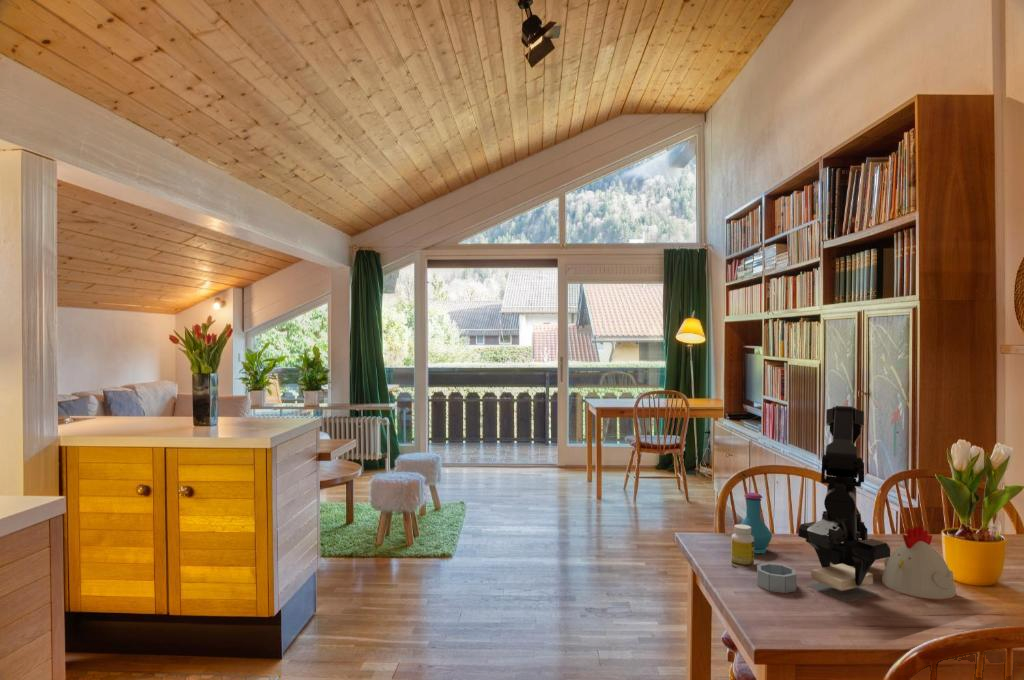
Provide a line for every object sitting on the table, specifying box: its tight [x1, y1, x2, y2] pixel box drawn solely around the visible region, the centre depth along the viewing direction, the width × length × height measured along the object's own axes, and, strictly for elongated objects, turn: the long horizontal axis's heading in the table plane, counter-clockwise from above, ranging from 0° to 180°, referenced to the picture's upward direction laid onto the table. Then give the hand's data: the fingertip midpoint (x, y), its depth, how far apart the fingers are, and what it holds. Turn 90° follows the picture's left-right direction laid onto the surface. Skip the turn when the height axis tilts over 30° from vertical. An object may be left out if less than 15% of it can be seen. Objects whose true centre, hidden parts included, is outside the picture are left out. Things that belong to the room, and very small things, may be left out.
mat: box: [806, 582, 879, 603], centre depth 139 cm, size 10×10×2 cm
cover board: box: [810, 563, 874, 591], centre depth 139 cm, size 10×8×2 cm
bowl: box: [756, 562, 797, 594], centre depth 142 cm, size 8×8×5 cm
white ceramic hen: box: [881, 525, 957, 601], centre depth 141 cm, size 14×14×15 cm
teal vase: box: [740, 492, 772, 554], centre depth 171 cm, size 9×9×15 cm
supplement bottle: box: [730, 523, 755, 569], centre depth 159 cm, size 5×5×10 cm
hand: (841, 578), depth 139 cm, fingers closed on cover board, 7 cm apart
